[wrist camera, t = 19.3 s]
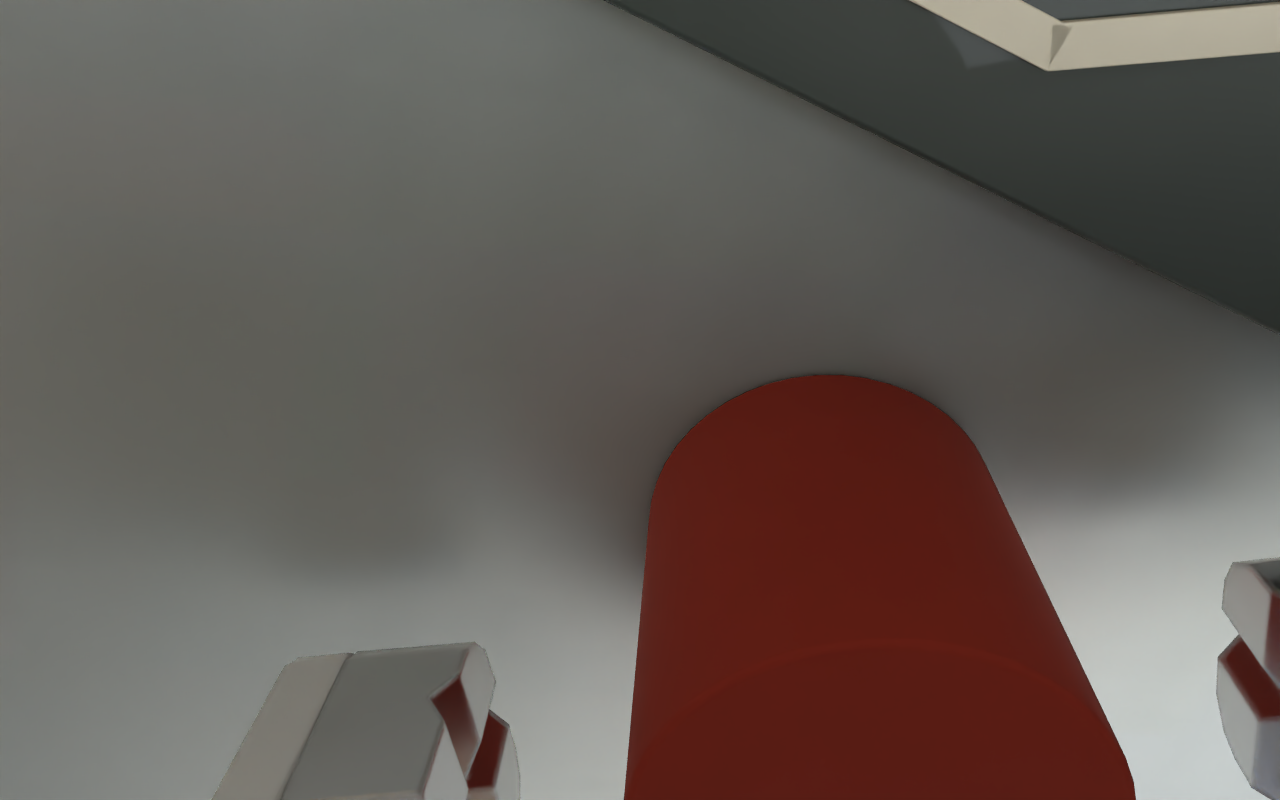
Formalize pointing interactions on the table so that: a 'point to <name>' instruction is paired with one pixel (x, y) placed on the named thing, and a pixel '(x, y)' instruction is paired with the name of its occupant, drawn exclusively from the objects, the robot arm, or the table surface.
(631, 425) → the table surface
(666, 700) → the dot
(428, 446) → the table surface
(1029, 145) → the slate board
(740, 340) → the table surface
